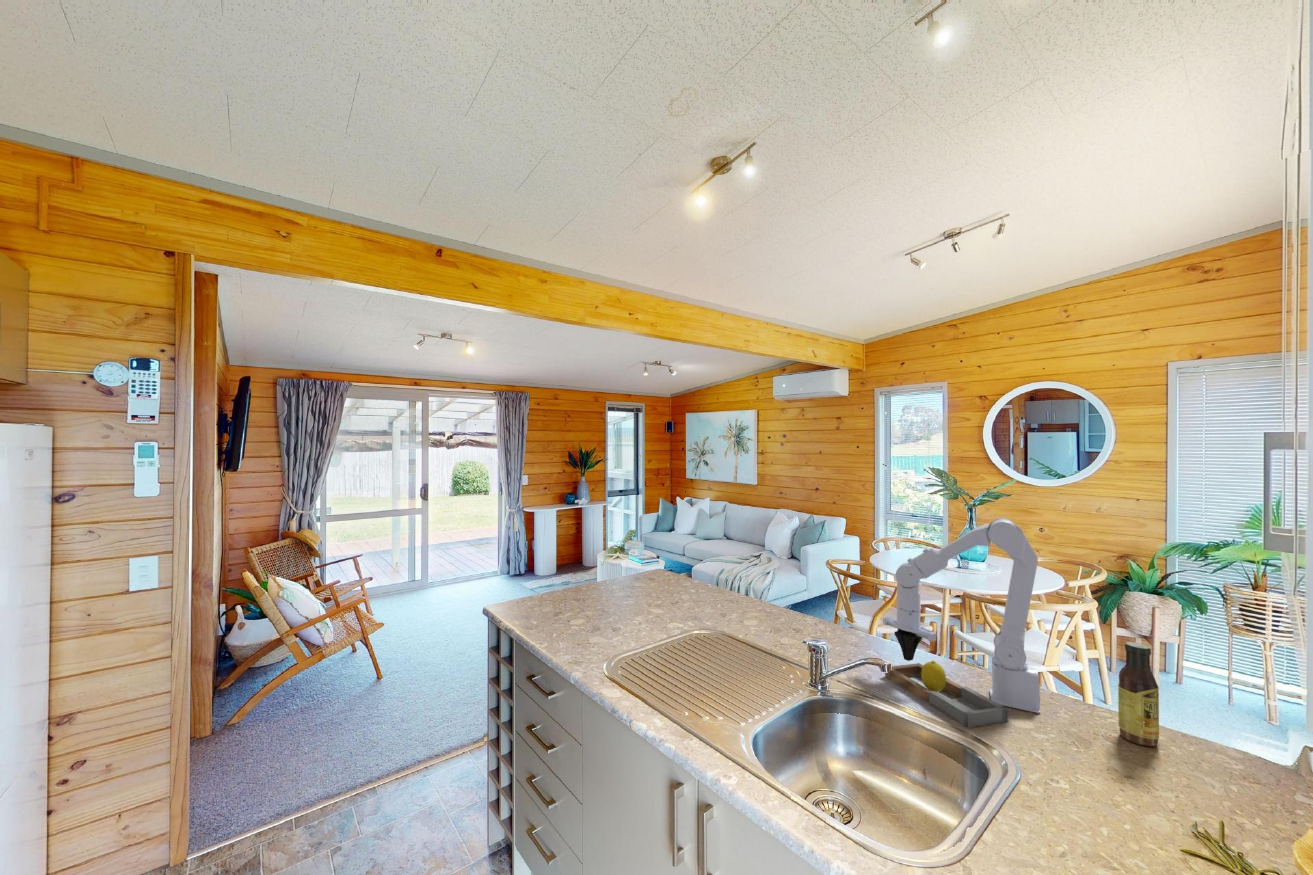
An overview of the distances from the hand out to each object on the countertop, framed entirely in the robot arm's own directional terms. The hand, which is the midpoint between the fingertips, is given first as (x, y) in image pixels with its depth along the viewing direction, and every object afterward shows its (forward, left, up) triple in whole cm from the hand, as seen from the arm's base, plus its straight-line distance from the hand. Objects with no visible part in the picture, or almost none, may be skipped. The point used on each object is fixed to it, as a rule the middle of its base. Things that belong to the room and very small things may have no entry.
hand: (908, 659), depth 136 cm
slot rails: (-4, +4, -5) cm, 8 cm away
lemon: (-6, +6, -5) cm, 10 cm away
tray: (-13, +13, -5) cm, 19 cm away
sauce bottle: (-44, +7, -5) cm, 45 cm away
